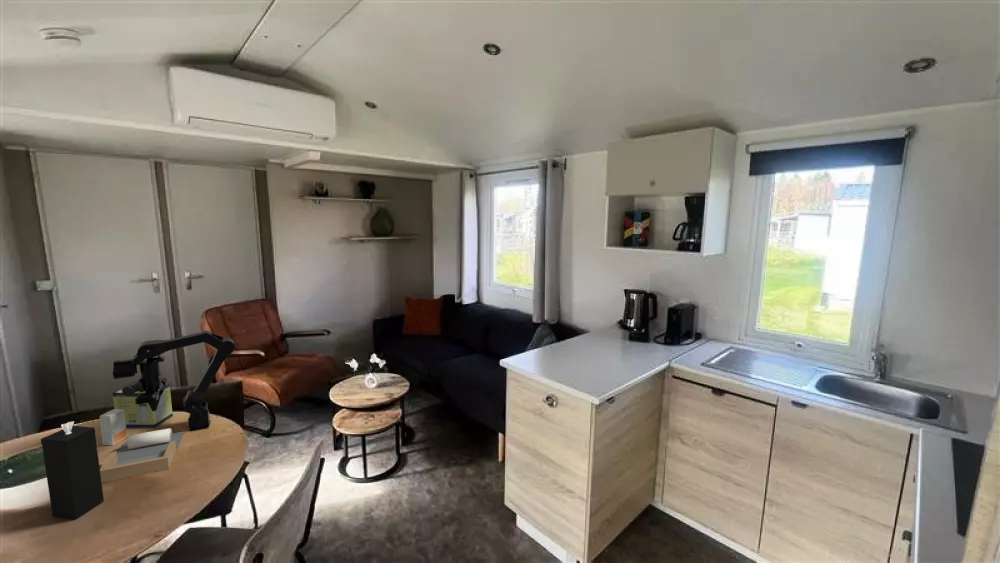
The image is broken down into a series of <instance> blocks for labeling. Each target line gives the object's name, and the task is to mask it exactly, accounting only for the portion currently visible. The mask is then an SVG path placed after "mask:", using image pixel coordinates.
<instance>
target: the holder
mask: <svg viewBox="0 0 1000 563" xmlns="http://www.w3.org/2000/svg"><path fill="white" fill-rule="evenodd" d="M184 434H185V433H184V431H181V432H175V433H174V432H172V438H171V441H170V442H166V443H160V444H155V445H149V446H144V447H138V448H133V449H128V441H125V442H124V443H123V445H122V446H121V447H120V449H119V451H118V450H117V451H111V452H110V454H109V455H108V456H107V458H106V460H104V462H103V464H102V466H101V467H100V475H101V483H102V484H103V483H107V482H112V481H116V480H117V481H118V480H122V479H127V478H132V477H137V476H142V475H147V474H151V472H152V473H155V471H157V472H160V471H159V470H161V471H165V470H164V469H166V470H169V469H170V468H171V465H172V463H171V462H173V461H174V458H175V456H174V454H175V455H176V453H177V451H178V448H179V446H178V445H180V444H181V441H182V439H183V437H182V436H184ZM181 438H182V439H181ZM179 443H180V444H179ZM176 450H177V451H176ZM175 452H176V453H175ZM173 457H174V458H173Z"/></svg>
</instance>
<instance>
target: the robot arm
mask: <svg viewBox="0 0 1000 563" xmlns="http://www.w3.org/2000/svg"><path fill="white" fill-rule="evenodd" d="M202 343H205V344H207V345H208V346H211V347H212V348H214V349H215V351H214V354H213V357H212V358H211V360H210V363H209V364H208V366H207V368H206V369H205V371H204V373H203V374H202V376H201V378H200V380H199V381H198V383H197V384H196V386H195V387H194V389H192V390H190V389H188V391H187V393H186V395H185V396H184V397H183V400H182V403H183V410H184V412H185V413H187V414H189V416H188V419H187V422H188V428H189V432H193V431H198V430H203V429H208V428H210V425H211V423H212V420H211V419H210V418H211V417H210V410H209V409H208V402H207V401H205V400H204V399H205V396H206V392H207V391H208V389H209V388H210V385H211V383H212V382H213V380H214V379H215V377H216V375H217V373H218V371H219V370H220V368H221V367H222V365H223V363H224V362H225V361H226V360H227V359H228V358H229V357H230V356H231V355H232V353H233V352H234V351H235V347H236V345H235V343H234V339H232V338H231V337H224V336H221V335H219V334H216V333H213V332H210V330H203V331H201V332H200V331H199V332H196V333H192V334H187V335H182V336H178V337H174V338H169V339H153V340H145V341H143V342H141V343H140V344H139V345H138V346H139V347H138V349H137V351H136V352H137V353H136V354H135V355H133V358H129V359H124V360H123V359H121V360H114V361H113V364H112V365H113V366H112V368H113V370H112V377H113V380H119V379H125V378H132V377H135V376H136V374H138V373H139V371H140V378H139V379H138V380H135V381H133V382H131V383H129V384H125V385H124V386H123V387H122V394H125V395H126V396H129V395H130V394H133V393H135V392H138V391H139V393H140V392H144V391H145V393H140V394H139V395H138V396H137V398H136V399H135V403H136V404H144V403H148V404H149V406H150V408H151V410H152V411H156V410H157V407H158V405H159V402H160V400H161V397H162V395H163V392H164V390H160V388H161V387H162V385H163V384H164V386H167V384H168V383H169V382H168V379H167V378H165V377H162V375H163V374H162V372H161V371H160V369H161V368H160V363H162V362H163V363H164V362H165V360H166V357H165V356H162V355H163V354H164V353H167V352H169V351H172V350H176V349H182V348H184V347H190V346H194V345H198V344H202ZM161 377H162V378H161Z"/></svg>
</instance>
